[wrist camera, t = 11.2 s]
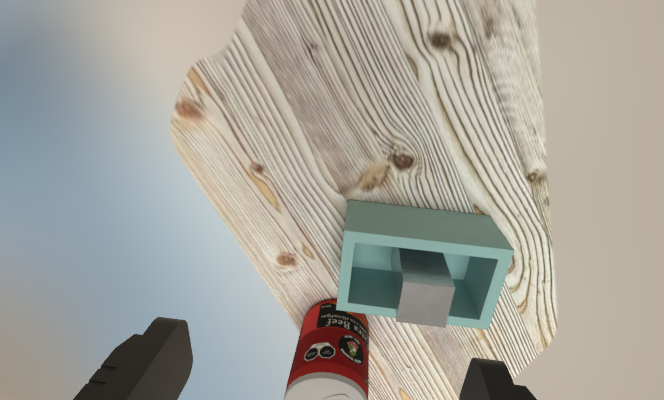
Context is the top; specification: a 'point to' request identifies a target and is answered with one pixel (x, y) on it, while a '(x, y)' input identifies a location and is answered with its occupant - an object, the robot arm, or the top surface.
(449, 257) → the box
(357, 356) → the canned food
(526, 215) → the top surface
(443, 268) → the grey upright brick
